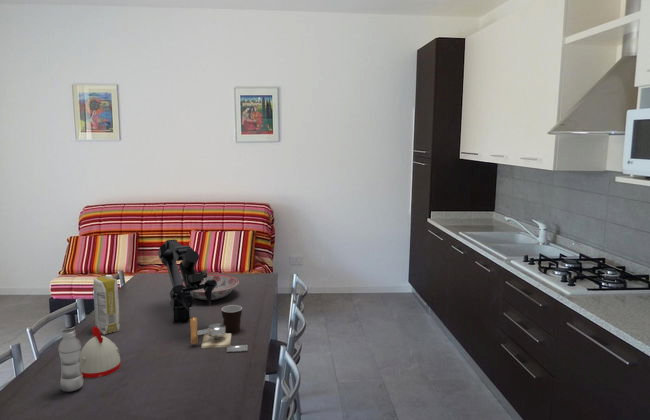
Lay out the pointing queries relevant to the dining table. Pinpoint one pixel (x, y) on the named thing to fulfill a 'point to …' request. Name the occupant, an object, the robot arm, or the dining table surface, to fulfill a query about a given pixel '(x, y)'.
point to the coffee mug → (232, 318)
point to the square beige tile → (216, 341)
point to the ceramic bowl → (217, 286)
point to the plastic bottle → (70, 361)
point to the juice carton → (106, 304)
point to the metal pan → (206, 330)
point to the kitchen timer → (99, 356)
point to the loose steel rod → (237, 348)
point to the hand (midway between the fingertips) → (199, 307)
